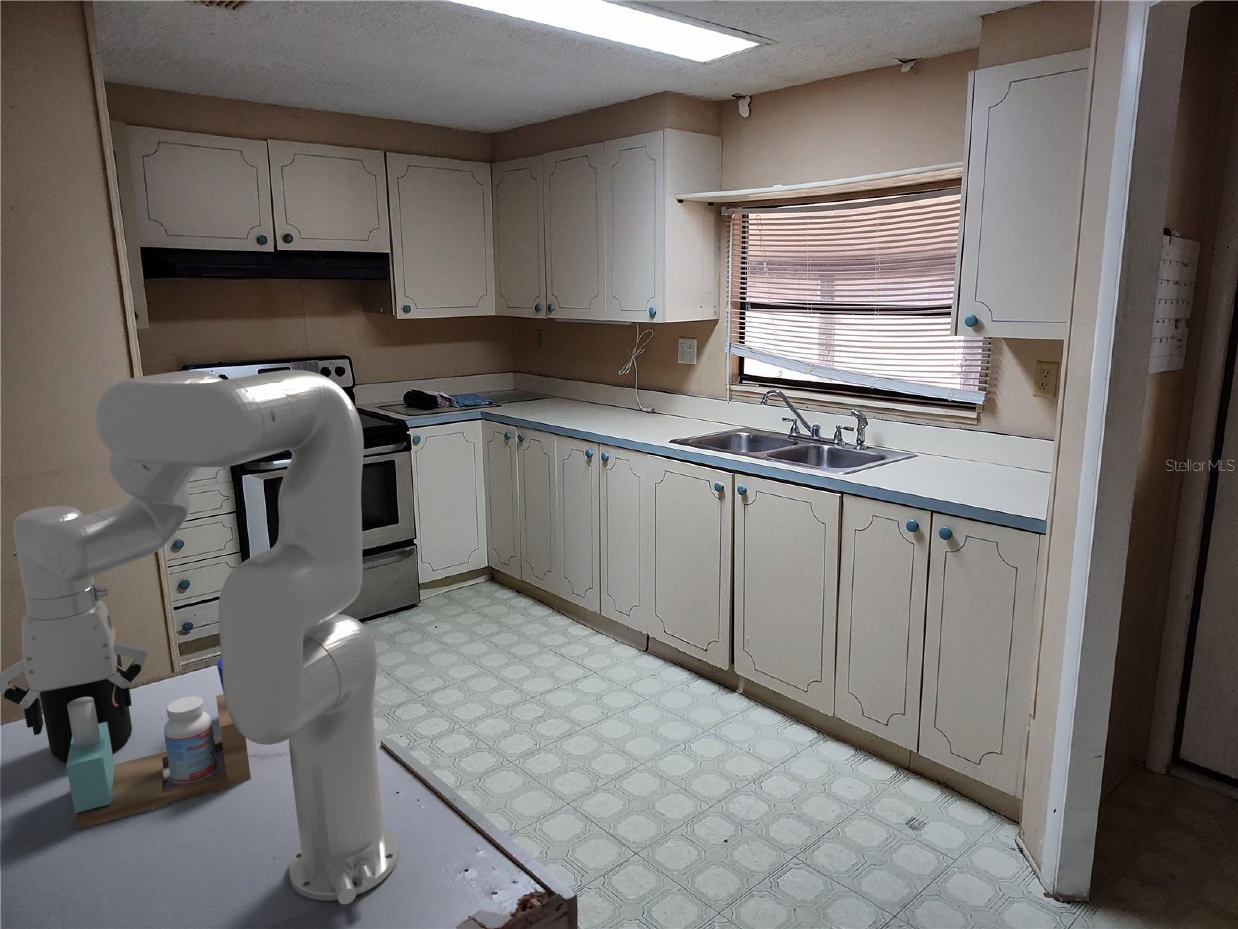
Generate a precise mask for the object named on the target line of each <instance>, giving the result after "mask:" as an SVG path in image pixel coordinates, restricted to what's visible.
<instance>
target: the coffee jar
mask: <svg viewBox="0 0 1238 929" xmlns="http://www.w3.org/2000/svg"><path fill="white" fill-rule="evenodd" d="M112 627H113V631H114V635H115V639H116V637H117V630H116V628H115V627H114V626H113V625H112ZM118 658H119V661H118V663H117V665H118V666H120V667H121V668H123V663H122V662H123V661H122V655H118ZM116 686H117V685H116V684H114V683H113V682H111V681H110V680H108V679H104V680H100V681H96V682H91V683H86V684H81V685H76V686H71V687H66V688H60V689H55V690H50V691H43V692H40V694H39V700H40V705H41V710H42V715H43V717H44V718H43V721H44V723H45V730H46V735H47V741H48V746H49V750H50V753H51V755H52V756H53V758H55V759H57V760H58V761H60V762H61V763H62V764H67V760H68V755H69V750H70V745H71V740H72V730H71V724H70V719H69V713H68V708H67V705H68V703H69V702H71V701H73V700H75V699H78V698H82V697H92V698H93V699H94V704H95V710H96V715H97V721H98V724H100V723H104V722H107V724H108V730H109V736H110V742H111V748H112V754H113V755H114V754H115V753H117V752H118V751H119V750H122V748H123V747H125V745H126V744H127V743H128V741H129V738H130V737H131V736H132V732H133V725H132V718H131V711H130V706H128V707H127V709H126V716H120V715H119V708H118V702H117V695H116Z"/></svg>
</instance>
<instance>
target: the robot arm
mask: <svg viewBox="0 0 1238 929" xmlns="http://www.w3.org/2000/svg"><path fill="white" fill-rule="evenodd" d="M354 404H355V403H353V401H352V400H351V398H350V396H349V394H347V393H346V391H345V390H344V389H343V388H342V387H341V386H340V385H339V384H337V383H336V382H334V380H332V379H330V378H329V377H327V376H326V375H322V374H320V373H317V372H313V371H309V370H304V369H303V370H302V369H285V370H284V369H283V370H278V371H276V370H275V371H270V372H269V371H268V372H263V373H257V374H253V375H247V376H242V377H236V378H235V377H234V378H229V379H223V378H221V377H220V376H218V375H215V374H213V373H211V372H207V371H203V370H193V369H192V370H181V371H173V372H165V373H164V372H163V373H159V374H152V375H151V374H150V375H146V376H144V375H143V376H137V377H132V378H131V377H130V378H127V379H124V380H121V381H118V382H117V383H115V384H113V385H112V386H110V387H109V388H108V389H107V390H106V391H105V392H104V393H103V394H102V396H101V398H100V400H99V401H98V404H97V407H96V410H95V419H94V420H95V427H96V431H97V435H98V437H99V439H100V441H101V442H102V444H103V445H104V446H105V447H106V449H107V450H108V451H109V452H111V454H110V456H109V460H108V468H109V469H108V470H109V473H110V475H111V477H112V479H113V481H114V483H115V484H116V485H117V486H118V487H120V489H121V490H122V491H124V492H125V493H127V494H129V495H130V496H131V497H132V498H130V500H128V501H127V502H125V503H121V504H117V505H115V506H111V507H108V508H104V509H101V510H98V511H94V512H89V513H87V514H85V515H83V514H82V511H80V510H79V509H77V508H76V507H73V506H66V505H65V506H64V505H54V506H53V505H51V506H45V507H39V508H34V509H31V510H27V511H25V512H23V513H21V514H19V515H18V516H17V517H16V518H15V519H14V521H13V524H12V531H13V537H14V544H15V549H16V554H17V561H18V565H19V570H20V576H21V582H22V587H23V591H24V592H23V593H24V598H25V600H24V601H25V605H26V611H27V612H26V613H25V614H24V615H23V617H22V622H21V648H22V649H21V650H22V659H20V660H19V661H17V662H15V663H14V664H12V665H10V666H9V667H7V668H6V669H4V670H2V671H0V693H1V695H3V697H4V699H6V700H8V701H10V702H12V703H14V704H17V705H18V706H19V708H21V709H23V711H24V716H25V723H26V727H27V729H29V728H32V732H33V735H34V736H39V735H40V734H41V733H42V730H43V726H44V718H43V717H44V716H43V711H42V705H41V700H40V698H38V696H40V692H43V691H50V690H55V689H60V688H66V687H71V686H76V685H81V684H86V683H91V682H96V681H100V680H104V679H108V680H110V681H111V682H113V683H114V684H116V685H117V686H116V695H117V702H118V708H119V715H120V716H126V709H127V707H128V706H129V707H132V697H131V690H130V689H131V688H130V684H131V683H132V682H133V681H135V680H134V679H136V678H137V676H138V675H139V674H140V673H141V671H142V668H143V666H144V664H145V663H146V662H145V661H146V660H147V658H148V656H149V655H148V654H149V650H148V648H146V647H144V646H143V647H142V646H138V645H133V644H130V643H129V644H128V643H124V642H119V641H117V640H116V638H115V635H114V631H113V627H114V626H113V623H112V620H111V616H110V614H109V611H108V608H107V606H106V604H105V602H104V601H103V600H100V599H103V598H105V597H109V595H110V593H109V586H106V585H105V586H101V585H100V586H98V584H96V581H95V579H94V578H95V577H97V576H99V575H103V574H105V573H108V572H110V571H112V570H114V569H117V568H120V567H122V566H125V565H127V564H130V563H133V562H136V561H138V560H141V559H144V558H146V557H150V556H151V555H153V554H155V553H157V552H158V551H159V550H161V549H162V548H164V547H165V545H166V544H168V542H169V541H170V540H171V539H172V538H173V537H174V536H175V534H176V533H177V531H179V529H180V528H181V526H182V525H183V524H184V522H185V521H187V520H186V519H187V518H188V515H189V512H190V505H191V503H190V502H191V500H190V499H191V497H190V496H191V495H190V491H189V486H188V484H189V483H190V482H191V481H192V479H193V478H194V477H195V475H196V474H197V473H198V471H200V469H201V468H222V467H232V466H236V465H241V464H244V463H247V462H248V463H249V462H251V461H254V460H258V459H261V458H265V457H268V456H271V455H275V454H278V453H281V452H285V451H290V452H291V459H290V461H289V464H288V466H287V469H286V471H285V473H284V475H283V478H282V481H281V485H280V488H279V493H278V501H277V508H278V520H279V521H278V537H277V540H276V543H275V544H274V545H273V546H272V547H271V548H269V549H267V550H265V551H263V552H261V553H258V554H255V555H254V556H252V557H249V558H248V559H246V560H245V561H243V562H241V563H240V564H238V565H237V566H236V567H235V568H234V569H233V570H232V571H231V572H230V573H229V574H228V576H227V577H226V579H225V581H224V583H223V586H222V588H221V592H220V594H219V598H218V599H219V600H218V627H219V628H218V630H219V643H220V644H219V645H220V657H221V658H220V659H221V662H222V677H223V689H222V691H223V690H224V693H223V694H224V697H225V702H226V707H227V710H228V713H229V716H230V718H231V720H232V722H233V724H234V725H235V727H236V728H237V730H238V731H239V732H240V733H241V734H242V735H243V736H244V737H245V738H246V740H248V741H251V742H252V743H255V744H259V745H265V746H267V745H268V746H269V745H276V744H280V743H282V742H286V741H288V746H289V757H290V768H291V777H292V786H293V794H294V803H295V811H296V818H297V820H296V821H297V826H298V828H297V829H298V837H299V846H300V847H299V848H298V850H296V852H295V853H294V854H293V856H292V858H291V860H290V863H289V868H288V869H289V871H288V873H289V874H288V875H289V881H290V883H291V886H292V888H293V889H294V890H295V891H296V892H297V894H299V895H301V896H303V897H306V898H307V899H311V900H315V901H323V902H324V901H325V902H327V901H330V902H331V901H338V902H339V903H340V904H341V905H347V904H350V903H352V902H353V901H354V900H355V899H356V896H357V895H358V896H359V895H360V894H363V893H365V892H367V891H369V890H371V889H372V888H375V886H377V885H379V884H380V883H382V882H383V881H384V880H385V879H386V878H387V877H388V876H389V875H390V874H391V873H392V871H393V869H394V868H395V866H396V864H397V862H398V858H399V845H398V841H397V838H396V836H395V835H394V834H393V832H391V831H390V830H389V829H387V828H386V827H384V822H383V812H382V800H381V790H380V779H379V768H378V767H379V766H378V756H377V755H378V754H377V745H376V744H377V742H376V731H375V729H376V728H375V718H374V717H375V715H374V714H375V713H374V710H375V709H374V703H375V702H374V700H375V689H376V688H375V687H376V679H377V669H378V667H377V666H378V665H377V664H378V656H377V648H376V644H375V641H374V639H373V637H372V636H373V635H371V634H372V633H371V632H370V631H369V630H368V628H367V627H366V626H365V625H364V624H363V623H362V622H361V621H360V620H358V619H356V618H354V617H353V616H349V615H346V614H339V613H340V612H342V611H343V610H344V609H346V608H347V607H349V606H350V605H351V604H352V603H353V602H354V601H355V600H356V599H357V598H358V597H359V594H360V592H361V588H362V583H363V517H362V516H363V515H362V478H363V466H364V465H363V464H364V453H365V452H364V450H365V449H364V446H365V443H364V432H363V426H362V422H361V418H360V416H359V412H358V411H357V409H356V406H355V405H354ZM112 626H113V627H112ZM118 655H120V656H124V657H127V658H133V661H132V662H131V664H129V666H128V667H127V669H124V668H123V667H122V668H121V667H120V666H118V665H117V663H118V661H119V658H118ZM23 673H24V678H25V679H24V680H25V684H26V689H23V688H21V687H18V686H16V685H13V683H12V682H11V680H13V679H15V678H16V677H18V676H20V675H21V674H23Z"/></svg>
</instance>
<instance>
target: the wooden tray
mask: <svg viewBox="0 0 1238 929" xmlns="http://www.w3.org/2000/svg"><path fill="white" fill-rule="evenodd" d="M215 697H216V698H215V699H216V704H217V705H216V707H217V715H218V722H219V730H220V738H216V739H215V738H214V743H215V750H216V754H218V753H223V758H224V766H225V773H222V774H219V775H215V776H214V775H213V776H211V777H210V778H207V779H203V780H199V781H195V782H192V783H188V784H184V785H176V786H174V787H170V788H166V789H164V787H165V786H164V784H165V779H164V778H165V776H164V774H165V771H164V770H165V768H164V767H169V763H168V756H167V750H166V751H162V752H159V753H155V754H151V755H147V756H143V757H142V756H141V757H138V758H134V759H131V760H127V761H123V762H118V763H114V765H115V766H114V776H113V786H112V796H111V804H108V805H105V806H101V807H97V808H93V809H90V810H86V811H82V812H78V813H75V817H74V823H75V828H76V830H77V831H78V830H80V829H84V828H88V826H89V827H92V826H94V825H99V824H103V823H106V822H105V821H107V822H110V821H113V819H114V820H116V819H115V818H118V819H121V818H124V817H128V816H127V815H129V816H131V815H135V813H136V814H139V813H138V812H140V813H142V812H141V811H143V812H147V811H150V810H149V809H151V810H153V809H152V808H154V809H157V807H158V808H161V807H160V806H162V807H164V805H165V806H167V805H166V804H169V805H172V804H175V803H174V802H176V803H179V801H180V802H183V801H187V800H190V798H191V799H194V798H198V797H201V796H204V795H208V794H212V793H213V794H214V793H216V792H221V791H223V790H228V789H229V785H232V784H234V783H235V784H236V783H239V782H242V781H247V780H250V779H251V778H252V776H251V771H250V770H251V769H250V762H249V753H248V746H247V745H248V744H247V738H245V737H244V736H243V735H242V734H241V733H240V732H239V731H238V730H237V728H236V727H235V725H234V724H233V722H232V720H231V718H230V716H229V713H228V710H227V707H226V702H225V697H224V693H222V694H218V695H215ZM146 810H147V811H146ZM109 820H110V821H109ZM102 822H103V823H102ZM91 825H92V826H91Z"/></svg>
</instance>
